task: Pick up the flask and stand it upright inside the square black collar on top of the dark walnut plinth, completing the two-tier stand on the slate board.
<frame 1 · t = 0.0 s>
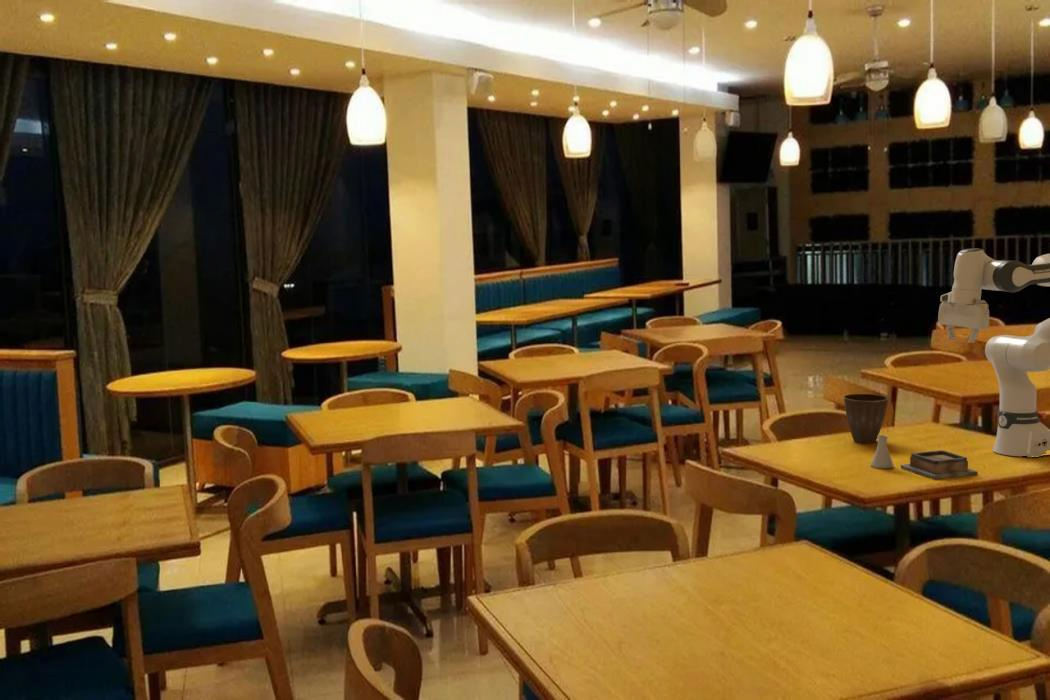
hand: (960, 341, 341), 39 cm above the table, tool pointing down, fingers open, 8 cm apart
walnut plinth: (938, 471, 330), on the table
plant pot: (865, 442, 375), on the table
flask: (882, 467, 338), on the table
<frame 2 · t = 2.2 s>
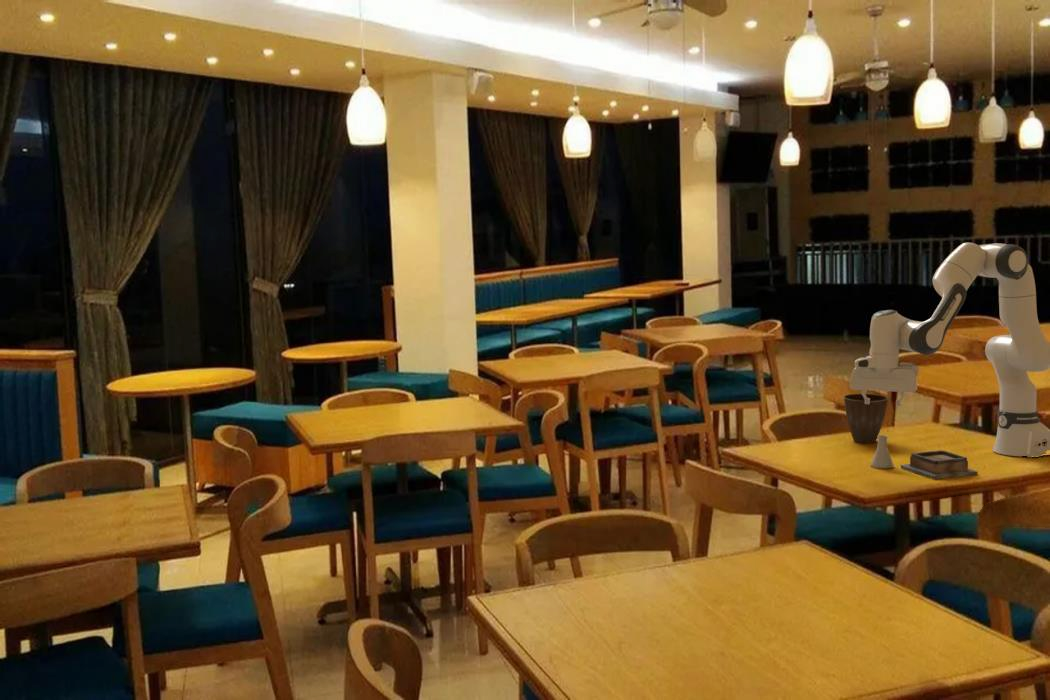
hand: (882, 404, 335), 20 cm above the table, tool pointing down, fingers open, 8 cm apart
nothing on the table moved.
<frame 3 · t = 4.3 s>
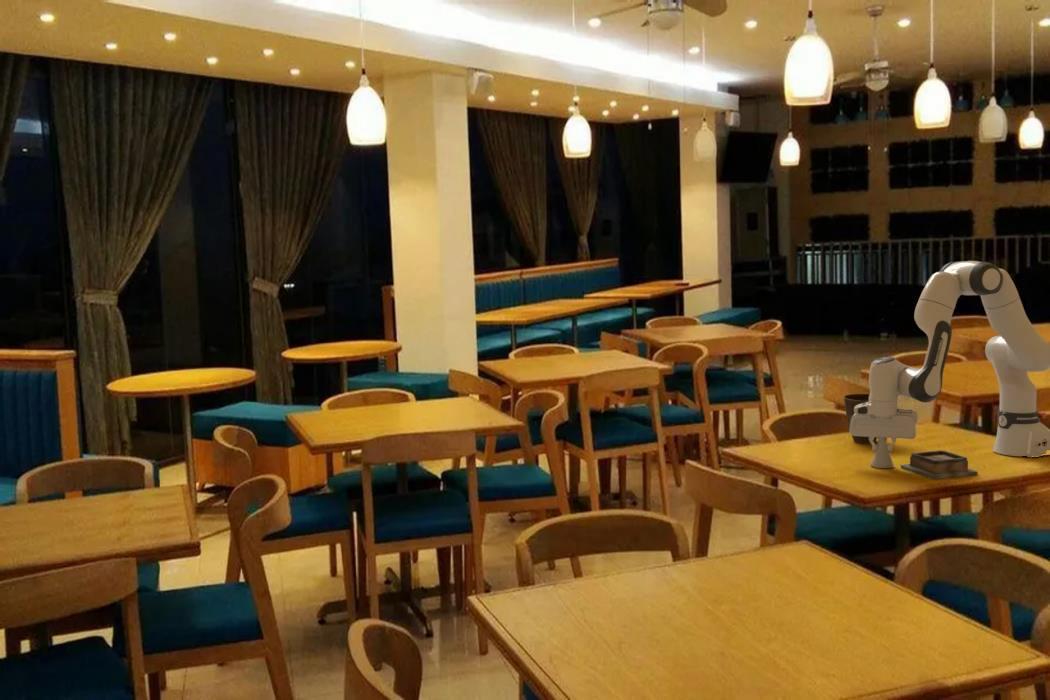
hand: (882, 450, 337), 5 cm above the table, tool pointing down, fingers closed on flask, 3 cm apart
flask: (882, 467, 338), on the table, touching gripper
everything else where it was.
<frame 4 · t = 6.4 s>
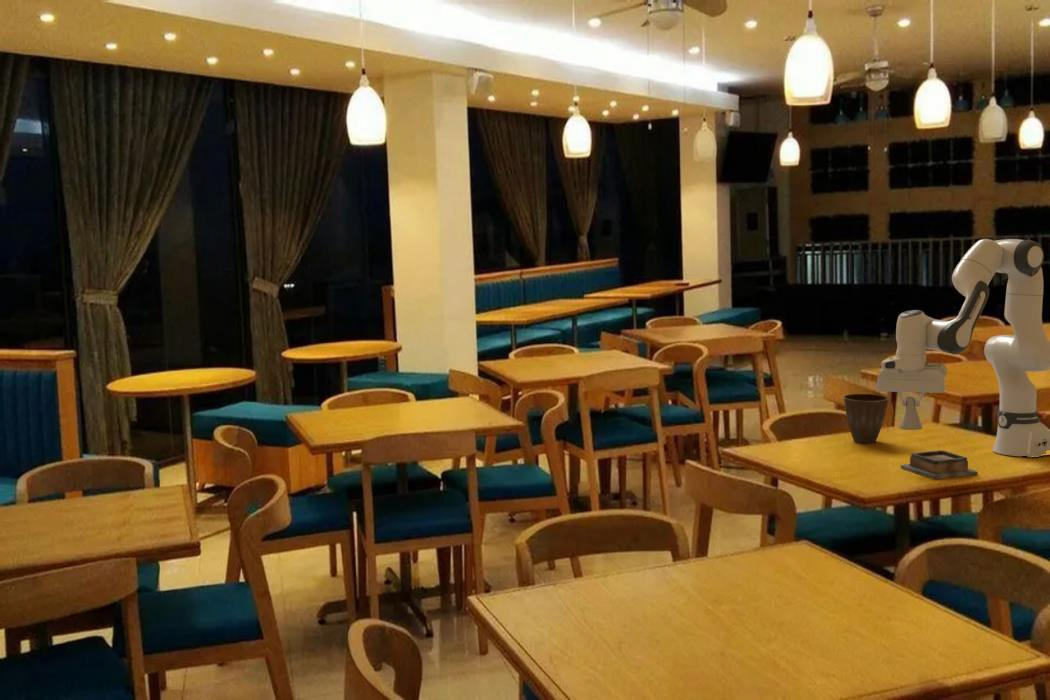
hand: (910, 405, 332), 20 cm above the table, tool pointing down, fingers closed on flask, 3 cm apart
flask: (910, 429, 333), point 13 cm above the table, touching gripper
everything else where it was.
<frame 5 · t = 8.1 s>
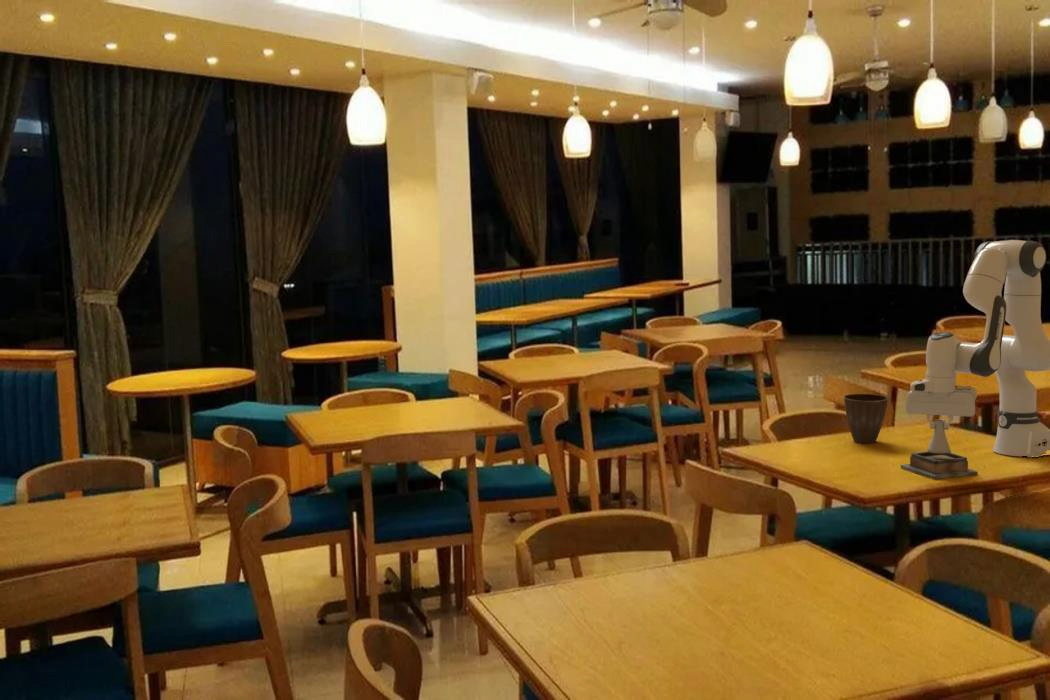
hand: (939, 428, 328), 13 cm above the table, tool pointing down, fingers closed on flask, 3 cm apart
flask: (938, 452, 329), point 6 cm above the table, touching gripper
everything else where it was.
when the fingers open (11 cm above the table, at t = 8.7 s): flask stays where it is, resting on walnut plinth.
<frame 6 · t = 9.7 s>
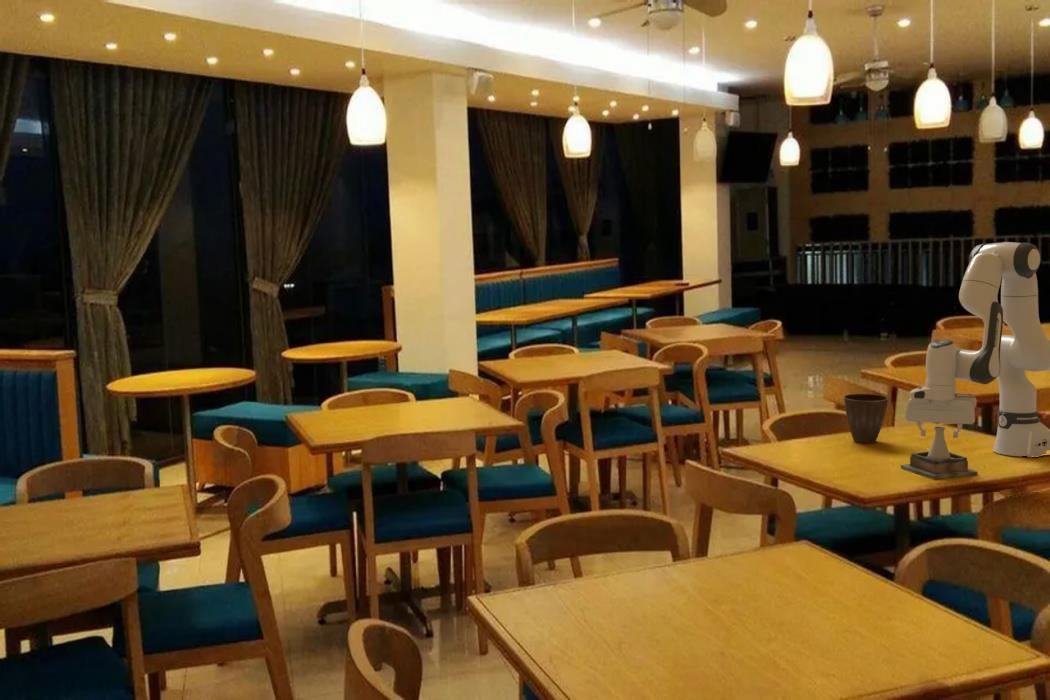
hand: (939, 436, 328), 11 cm above the table, tool pointing down, fingers open, 8 cm apart
flask: (938, 459, 329), point 4 cm above the table, touching walnut plinth
everything else where it was.
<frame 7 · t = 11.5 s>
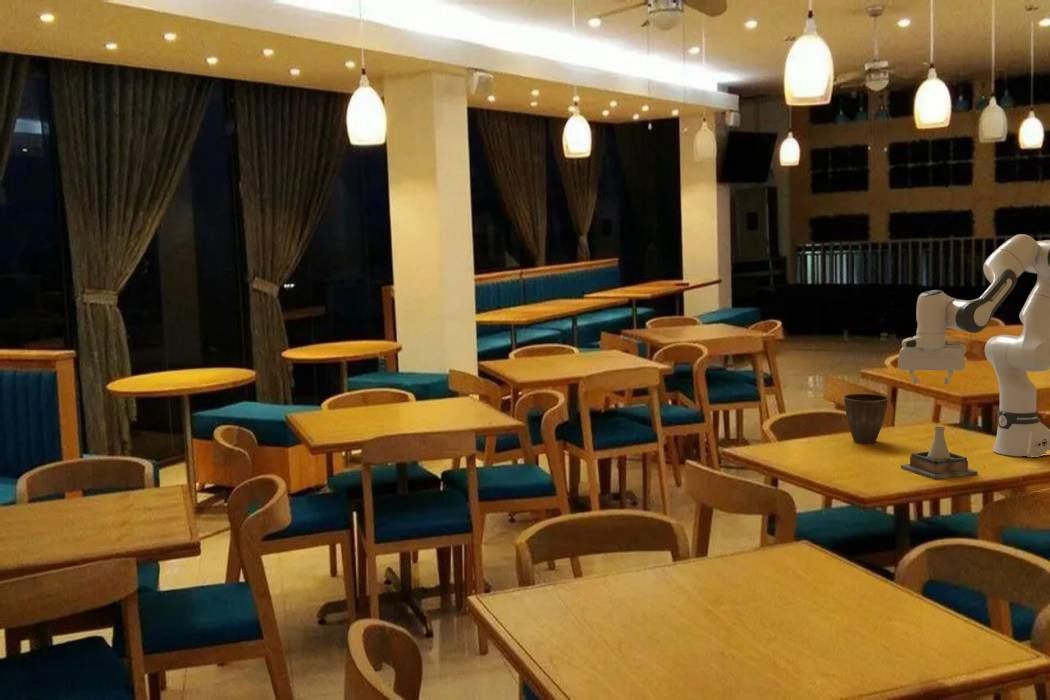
hand: (931, 383, 340), 26 cm above the table, tool pointing down, fingers open, 8 cm apart
nothing on the table moved.
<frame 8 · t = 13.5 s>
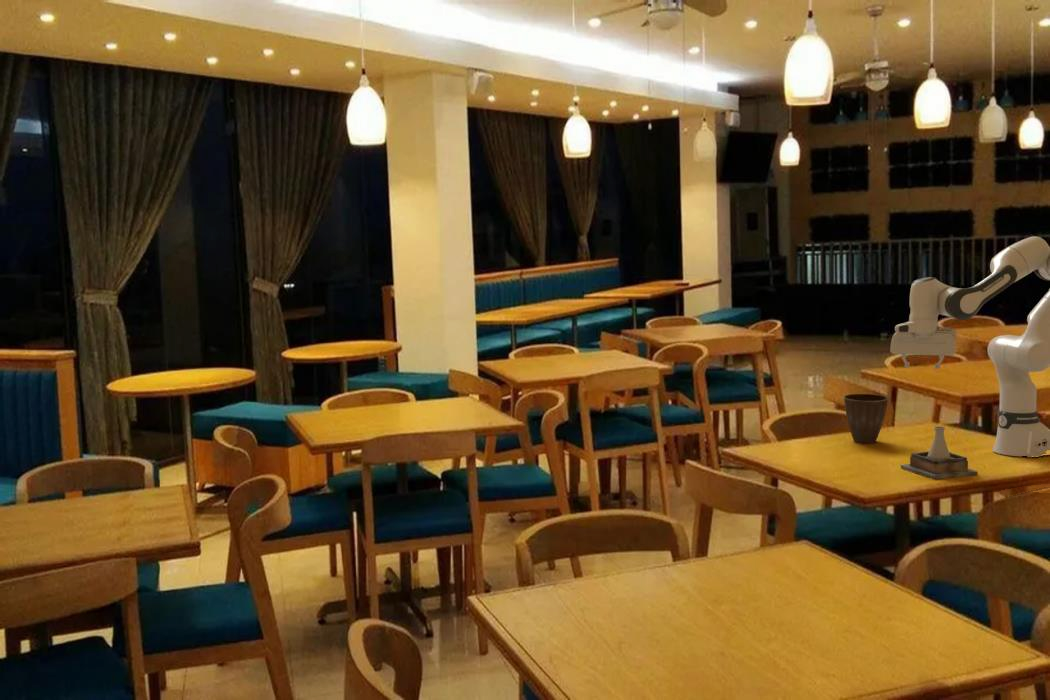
hand: (922, 368, 350), 29 cm above the table, tool pointing down, fingers open, 8 cm apart
nothing on the table moved.
at the end: flask 0.1 cm off-centre on the walnut plinth, point 3.8 cm above the walnut plinth's base; flask tilted 0°; the gripper is holding nothing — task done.
